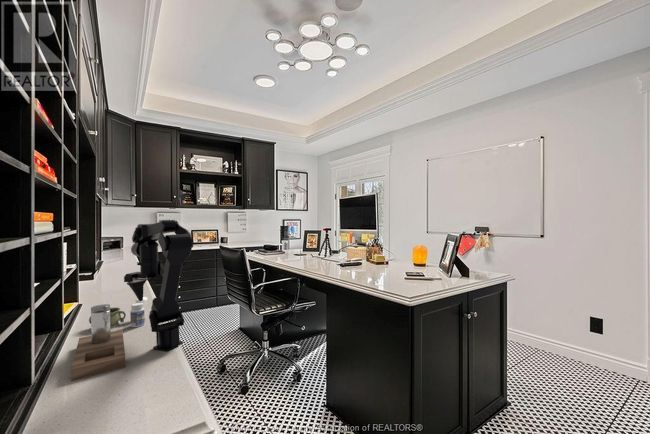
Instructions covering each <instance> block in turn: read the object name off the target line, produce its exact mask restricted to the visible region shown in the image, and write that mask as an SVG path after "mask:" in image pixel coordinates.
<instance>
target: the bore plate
mask: <svg viewBox="0 0 650 434" xmlns="http://www.w3.org/2000/svg"><path fill="white" fill-rule="evenodd" d="M110 333H111V339H110V340H109V341H106V342H103V343H97V344H93V343H92V340H91V335H88V336H84V337H83V336H82V337H79V338H78V342H77V345H76V348H75V352H74V357H73V361H72V364H71V368H70V372H71V373H70V375H71V378H70V379H71V381H77V380H79V379H80V380H81V379H84V378H88V377H92V376H96V375H100V374H103V373H107V372H112V371H115V370H120V369H124V368H126V351H125V340H124V333H123V329H120V330H119V329H118V330H114V331H110Z"/></svg>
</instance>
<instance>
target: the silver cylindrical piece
mask: <svg viewBox="0 0 650 434" xmlns="http://www.w3.org/2000/svg"><path fill="white" fill-rule="evenodd" d="M110 308H111V304H109V303H108V304H107V303H106V304H104V303H103V304H98V305H93V306H91V307H90V316H91V324H90V327H91V328H90V329H91V333H90V334H91V335H90V336H91V340H92V343H93V344H97V343H103V342H106V341H109V340H110V339H111V333H110V332H111V329H110Z"/></svg>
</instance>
